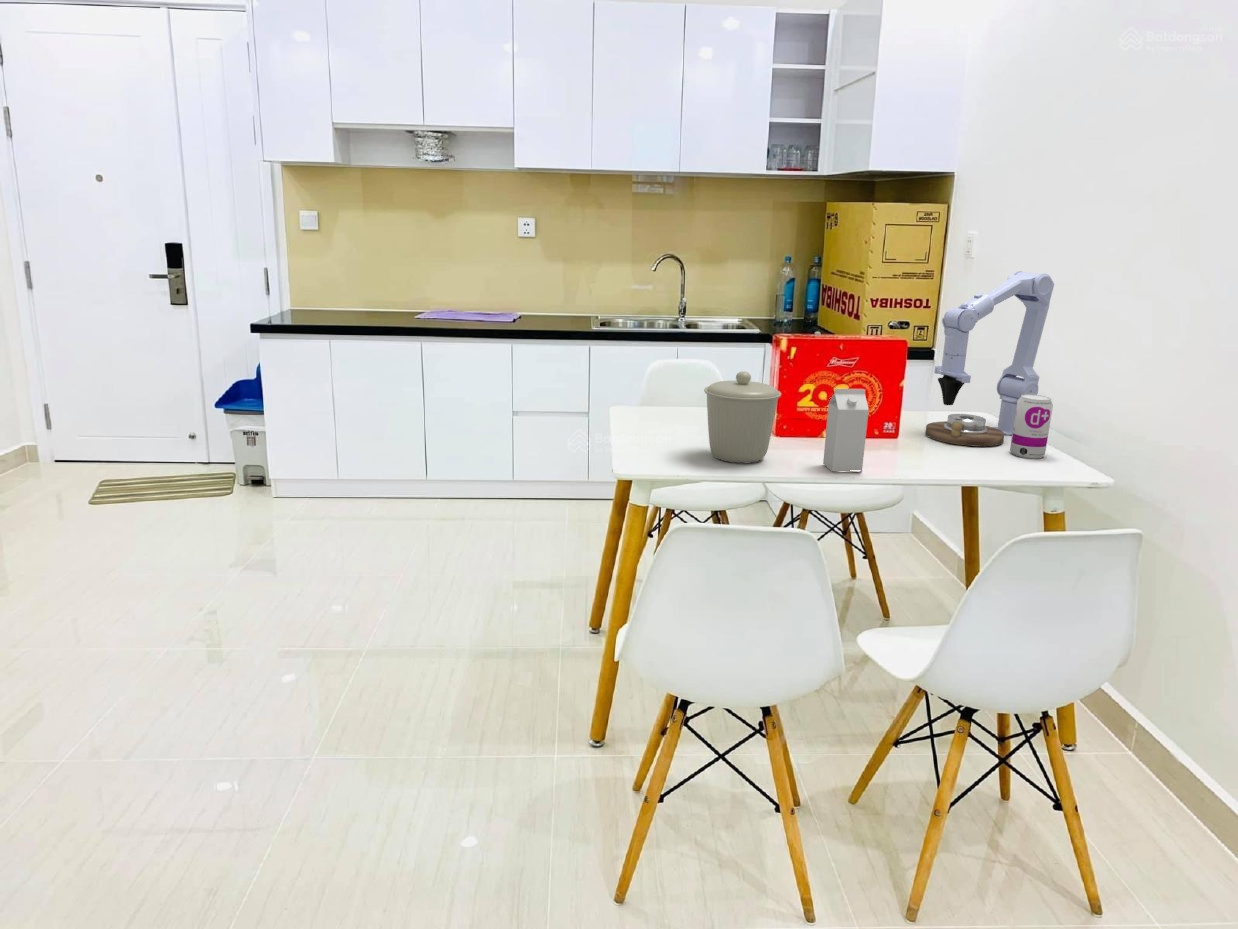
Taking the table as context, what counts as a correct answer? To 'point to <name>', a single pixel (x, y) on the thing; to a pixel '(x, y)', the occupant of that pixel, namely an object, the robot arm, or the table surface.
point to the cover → (967, 423)
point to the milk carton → (846, 430)
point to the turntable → (963, 435)
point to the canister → (740, 418)
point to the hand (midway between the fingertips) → (948, 404)
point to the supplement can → (1031, 426)
